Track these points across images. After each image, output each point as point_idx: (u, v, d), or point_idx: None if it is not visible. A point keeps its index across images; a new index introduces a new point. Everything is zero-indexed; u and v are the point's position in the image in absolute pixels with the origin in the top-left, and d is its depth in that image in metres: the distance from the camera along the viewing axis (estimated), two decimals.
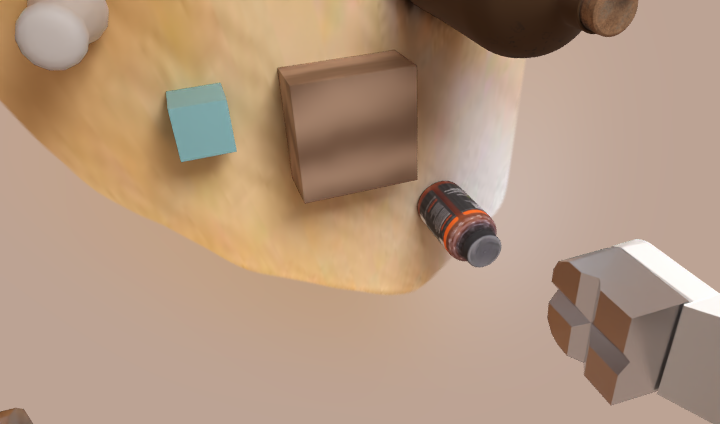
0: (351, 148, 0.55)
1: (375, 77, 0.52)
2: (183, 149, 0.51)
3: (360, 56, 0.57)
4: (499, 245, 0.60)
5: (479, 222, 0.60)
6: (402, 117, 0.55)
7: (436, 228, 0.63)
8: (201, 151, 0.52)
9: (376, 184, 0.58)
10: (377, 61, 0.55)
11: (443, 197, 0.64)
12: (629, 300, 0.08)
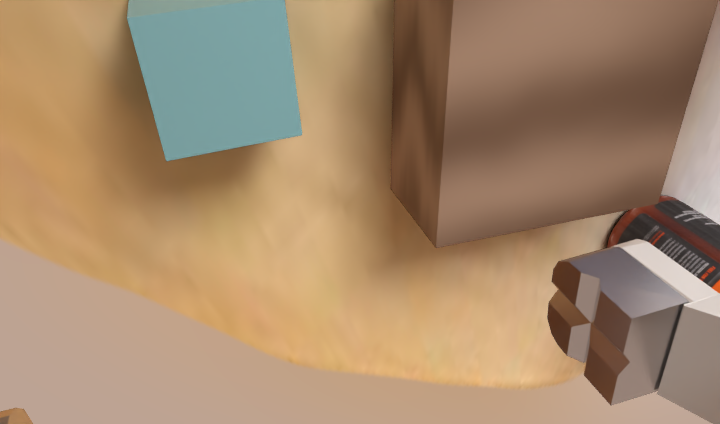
0: (556, 128, 0.24)
1: None
2: (171, 130, 0.20)
3: None
4: None
5: None
6: (671, 64, 0.24)
7: None
8: (217, 134, 0.21)
9: (582, 211, 0.27)
10: None
11: (678, 229, 0.33)
12: (629, 300, 0.08)
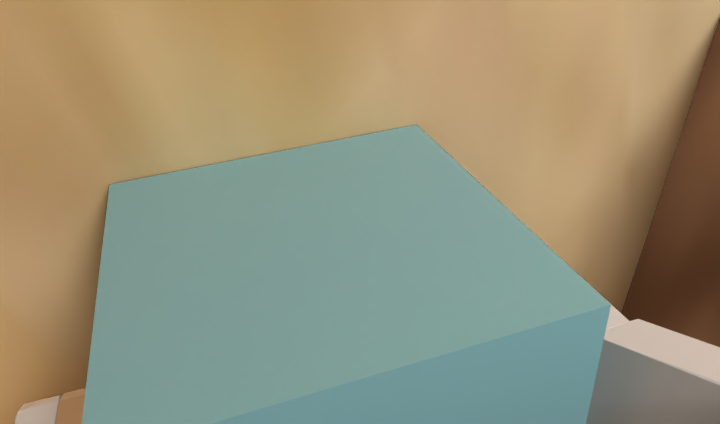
0: None
1: None
2: None
3: None
4: None
5: None
6: None
7: None
8: None
9: None
10: None
11: None
12: None
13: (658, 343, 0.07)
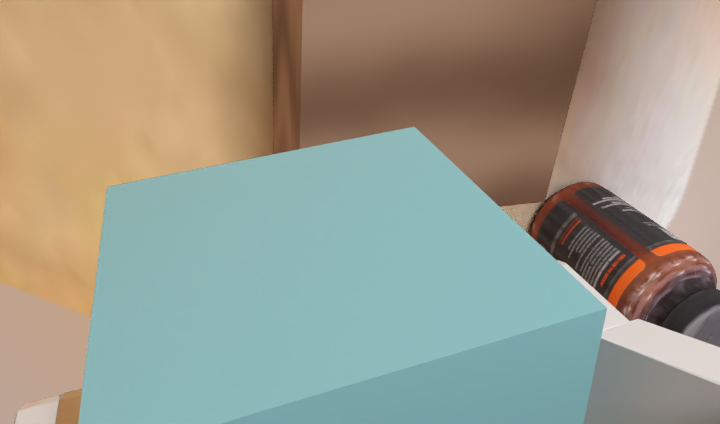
0: (427, 107, 0.23)
1: None
2: None
3: None
4: None
5: (693, 272, 0.28)
6: (552, 51, 0.24)
7: (586, 279, 0.31)
8: None
9: None
10: None
11: (594, 216, 0.32)
12: None
13: (658, 343, 0.07)
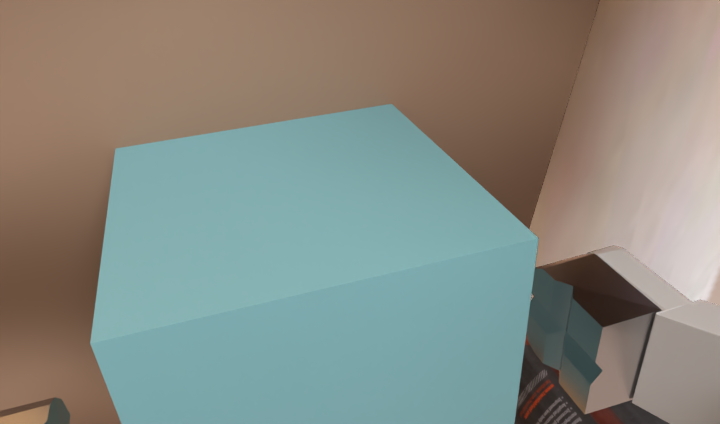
0: None
1: None
2: None
3: None
4: None
5: None
6: (485, 184, 0.13)
7: None
8: None
9: None
10: None
11: None
12: (601, 309, 0.08)
13: None
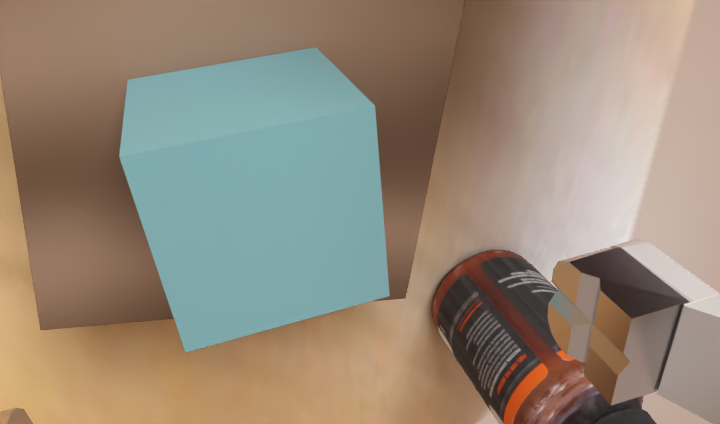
0: None
1: None
2: (193, 310, 0.13)
3: None
4: None
5: None
6: (398, 111, 0.18)
7: (483, 380, 0.25)
8: (263, 308, 0.13)
9: None
10: None
11: (498, 298, 0.26)
12: (629, 300, 0.08)
13: None
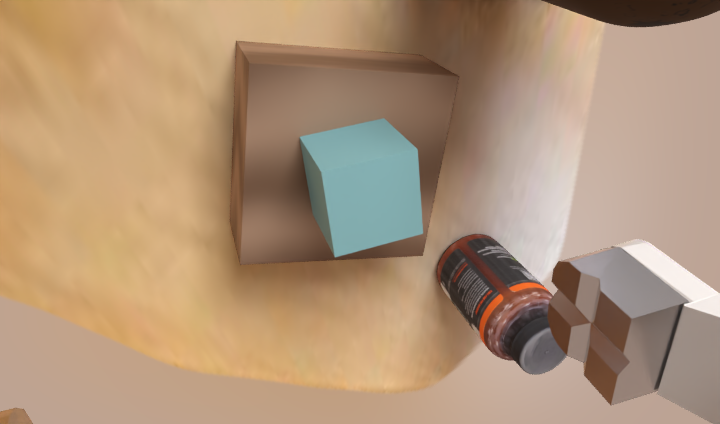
0: None
1: (392, 81, 0.32)
2: (340, 237, 0.30)
3: (369, 52, 0.36)
4: None
5: (537, 304, 0.39)
6: (420, 154, 0.35)
7: (468, 308, 0.42)
8: (368, 237, 0.30)
9: (360, 252, 0.37)
10: (396, 61, 0.35)
11: (477, 261, 0.43)
12: (629, 300, 0.08)
13: None
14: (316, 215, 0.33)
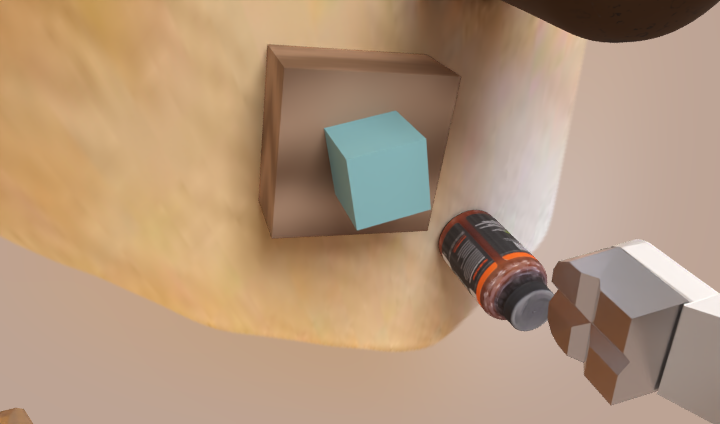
0: None
1: (404, 81, 0.37)
2: (361, 213, 0.35)
3: (382, 52, 0.42)
4: None
5: (526, 270, 0.45)
6: (427, 143, 0.40)
7: (466, 275, 0.47)
8: (385, 213, 0.36)
9: (373, 228, 0.42)
10: (406, 62, 0.40)
11: (474, 234, 0.48)
12: (629, 300, 0.08)
13: None
14: (339, 195, 0.38)
